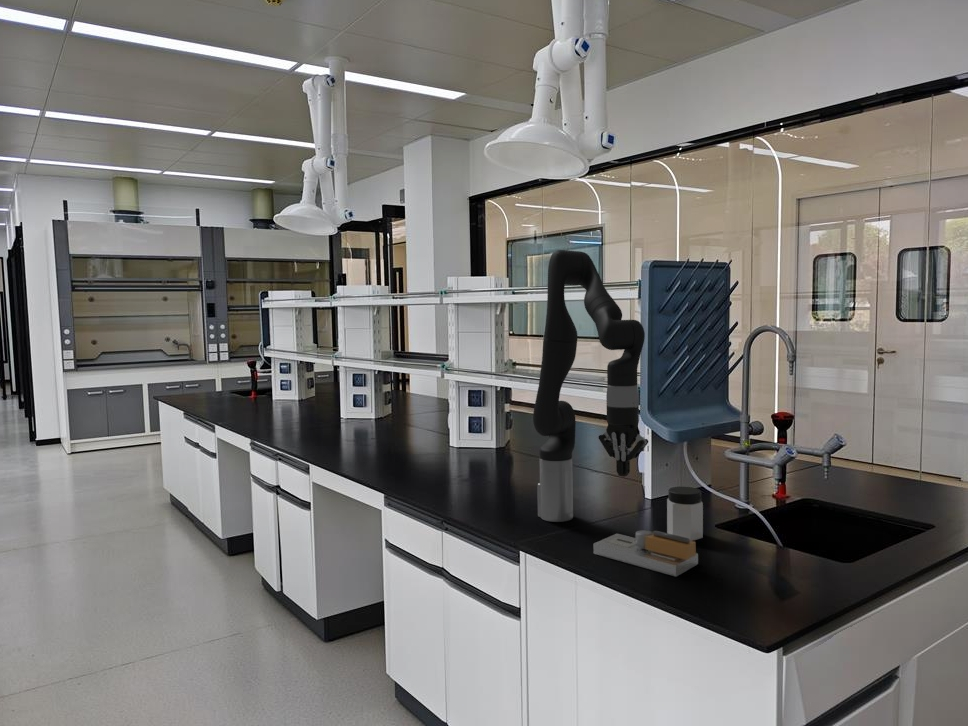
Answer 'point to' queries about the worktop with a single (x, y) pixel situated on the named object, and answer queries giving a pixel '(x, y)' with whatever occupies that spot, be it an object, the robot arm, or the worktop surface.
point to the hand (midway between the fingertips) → (623, 475)
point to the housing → (642, 555)
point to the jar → (685, 512)
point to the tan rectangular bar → (666, 544)
